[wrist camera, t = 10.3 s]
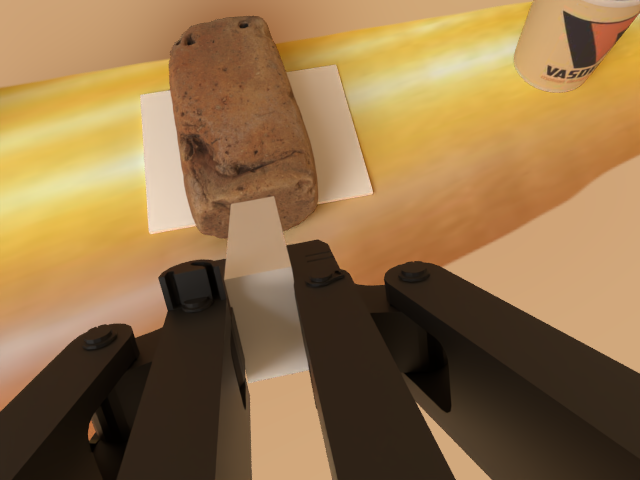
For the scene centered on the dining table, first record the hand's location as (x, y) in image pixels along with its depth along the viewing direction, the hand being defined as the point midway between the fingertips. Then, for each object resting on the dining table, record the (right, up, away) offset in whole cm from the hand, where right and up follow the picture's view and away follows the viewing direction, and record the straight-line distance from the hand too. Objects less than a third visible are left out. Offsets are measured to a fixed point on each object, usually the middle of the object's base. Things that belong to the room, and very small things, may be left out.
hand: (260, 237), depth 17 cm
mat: (-4, +9, +30) cm, 32 cm away
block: (-3, +2, +22) cm, 22 cm away
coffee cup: (+26, +18, +35) cm, 47 cm away
